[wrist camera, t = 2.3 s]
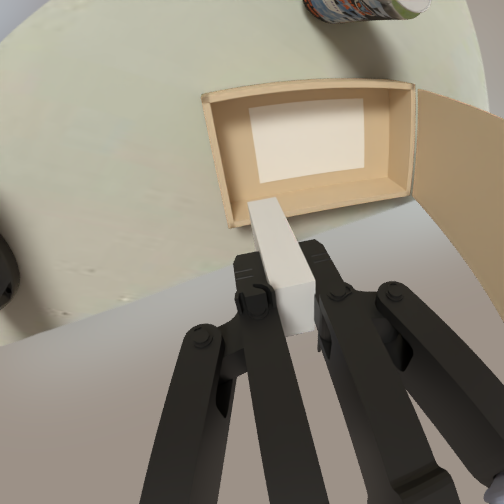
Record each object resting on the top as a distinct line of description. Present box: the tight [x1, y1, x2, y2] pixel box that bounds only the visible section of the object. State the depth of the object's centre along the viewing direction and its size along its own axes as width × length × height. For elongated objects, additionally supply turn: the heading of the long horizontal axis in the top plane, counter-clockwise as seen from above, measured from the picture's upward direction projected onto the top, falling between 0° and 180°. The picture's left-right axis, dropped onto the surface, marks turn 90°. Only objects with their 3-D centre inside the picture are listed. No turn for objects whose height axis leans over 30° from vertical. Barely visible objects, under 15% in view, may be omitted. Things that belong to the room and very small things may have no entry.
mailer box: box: [201, 78, 416, 229], centre depth 26 cm, size 20×12×5 cm, turn 98°
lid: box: [412, 89, 504, 322], centre depth 16 cm, size 19×12×1 cm
